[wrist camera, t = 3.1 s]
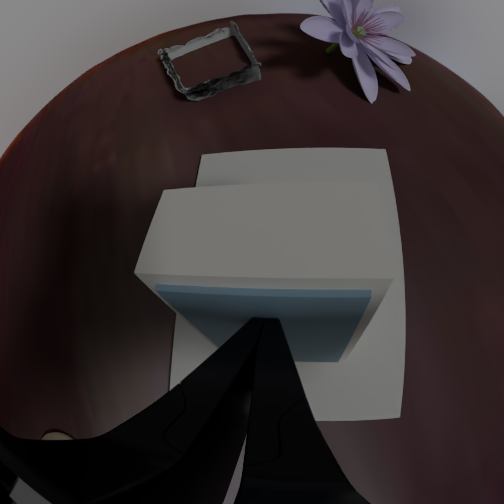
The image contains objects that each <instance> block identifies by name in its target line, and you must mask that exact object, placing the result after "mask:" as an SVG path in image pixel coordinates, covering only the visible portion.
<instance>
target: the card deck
mask: <svg viewBox="0 0 504 504" xmlns="http://www.w3.org/2000/svg"><path fill="white" fill-rule="evenodd" d="M134 274H135V275H136V276H137V277H138V278H139V279H140V280H141V281H142V282H143V283H144V284H146V285H147V286H148V287H149V288H150V289H151V290H152V291H153V292H154V293H155V294H156V295H157V296H158V297H159V298H160V299H161V300H162V301H163V302H165V303H166V304H167V305H168V306H169V307H170V308H171V309H172V310H173V311H174V312H175V313H177V314H178V315H179V316H180V317H181V318H182V319H183V320H184V321H186V322H187V323H188V324H189V325H190V326H191V327H192V328H194V329H195V330H196V331H197V332H198V333H199V334H200V335H202V336H203V337H204V338H205V339H206V340H208V341H209V342H210V343H211V344H212V345H214V346H215V347H216V348H217V349H218V348H219V347H220V346H221V345H223V344H224V343H225V342H226V341H227V340H228V339H229V338H230V337H231V336H232V335H234V334H235V333H236V332H237V331H238V330H239V329H240V328H241V327H242V326H243V325H244V324H245V323H247V322H248V321H249V320H250V319H251V318H254V317H255V318H265V320H266V319H267V318H278V319H279V320H280V322H281V325H282V327H283V330H284V333H285V336H286V339H287V342H288V345H289V348H290V351H291V353H292V356H293V359H294V362H345V360H346V359H347V358H348V356H349V354H350V353H351V351H352V350H353V348H354V347H355V345H356V344H357V342H358V341H359V339H360V337H361V336H362V334H363V333H364V331H365V329H366V328H367V326H368V324H369V323H370V321H371V319H372V318H373V316H374V314H375V312H376V311H377V309H378V307H379V305H380V304H381V302H382V300H383V298H384V297H385V295H386V293H387V291H388V289H389V287H390V285H391V284H392V282H393V280H394V272H393V264H392V257H391V251H390V244H389V238H388V232H387V227H386V221H385V216H384V211H383V206H382V202H381V197H380V192H379V188H378V184H377V183H361V182H293V183H260V184H239V185H222V186H207V187H194V188H182V189H171V190H164V191H163V194H162V196H161V199H160V201H159V204H158V206H157V209H156V212H155V214H154V217H153V219H152V222H151V225H150V227H149V230H148V233H147V236H146V239H145V241H144V244H143V247H142V250H141V253H140V256H139V259H138V262H137V265H136V268H135V271H134Z"/></svg>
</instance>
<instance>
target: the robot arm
mask: <svg viewBox="0 0 504 504" xmlns="http://www.w3.org/2000/svg"><path fill="white" fill-rule="evenodd" d="M246 434H247V437H246ZM245 437H246V446H245V454H244V462H243V471H242V477H241V482H240V487H239V490H238V493H237V496H236V498H235V501H234V504H370V503H369V502H368V501H367V500H366V499H365V498H363V497H362V496H361V495H360V494H359V493H358V492H357V491H356V490H355V489H354V488H353V486H352V485H351V484H350V482H349V481H348V479H347V478H346V476H345V475H344V473H343V471H342V470H341V468H340V466H339V464H338V462H337V461H336V459H335V457H334V455H333V454H332V452H331V450H330V448H329V446H328V445H327V443H326V441H325V439H324V437H323V435H322V433H321V431H320V429H319V427H318V425H317V423H316V421H315V418H314V416H313V413H312V411H311V408H310V405H309V402H308V399H307V398H306V394H305V391H304V388H303V385H302V382H301V379H300V377H299V374H298V371H297V368H296V365H295V362H294V359H293V356H292V353H291V351H290V348H289V345H288V342H287V339H286V336H285V333H284V330H283V327H282V325H281V322H280V320H279V319H278V318H267V319H266V320H265V318H255V317H254V318H251V319H250V320H249V321H248V322H247V323H245V324H244V325H243V326H242V327H241V328H240V329H239V330H238V331H237V332H236V333H235V334H234V335H232V336H231V337H230V338H229V339H228V340H227V341H226V342H225V343H224V344H223V345H221V346H220V347H219V348H218V349H217V350H216V351H215V352H214V353H212V354H211V355H210V356H209V357H208V358H207V359H206V360H205V361H203V362H202V363H201V364H200V365H199V366H198V367H197V368H195V369H194V370H193V371H192V372H191V373H190V374H189V375H187V376H186V377H185V378H184V379H183V380H182V381H180V384H179V383H178V384H177V385H176V386H174V387H173V388H172V389H171V390H170V391H168V392H167V393H166V394H165V395H163V396H162V397H161V398H160V399H158V400H157V401H156V402H154V403H153V404H151V405H150V406H148V407H147V408H146V409H144V410H143V411H141V412H140V413H138V414H136V415H135V416H133V417H132V418H130V419H129V420H127V421H125V422H124V423H122V424H120V425H119V426H117V427H116V428H114V429H112V430H111V431H109V432H107V433H105V434H103V435H100V436H97V437H94V438H89V439H72V440H30V439H22V438H17V437H15V436H12V435H10V434H9V433H8V432H7V431H5V430H4V429H3V428H2V427H1V426H0V504H223V502H224V499H225V496H226V494H227V491H228V488H229V485H230V482H231V479H232V476H233V474H234V471H235V468H236V465H237V462H238V459H239V456H240V453H241V450H242V447H243V444H244V440H245Z"/></svg>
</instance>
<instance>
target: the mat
mask: <svg viewBox="0 0 504 504" xmlns="http://www.w3.org/2000/svg"><path fill="white" fill-rule="evenodd" d="M293 182H361V183H377V184H378V188H379V192H380V197H381V202H382V206H383V211H384V216H385V221H386V227H387V232H388V238H389V244H390V251H391V257H392V264H393V272H394V280H393V282H392V284H391V285H390V287H389V289H388V291H387V293H386V295H385V297H384V298H383V300H382V302H381V304H380V305H379V307H378V309H377V311H376V312H375V314H374V316H373V318H372V319H371V321H370V323H369V324H368V326H367V328H366V329H365V331H364V333H363V334H362V336H361V337H360V339H359V341H358V342H357V344H356V345H355V347H354V348H353V350H352V351H351V353H350V354H349V356H348V358H347V359H346V360H345V362H295V365H296V368H297V371H298V374H299V377H300V379H301V382H302V385H303V388H304V391H305V394H306V398H307V399H308V402H309V405H310V408H311V411H312V413H313V416H314V418H315V421H352V420H374V419H387V418H398V417H400V411H401V402H402V392H403V380H404V364H405V287H404V271H403V258H402V247H401V238H400V229H399V221H398V214H397V207H396V201H395V195H394V189H393V183H392V178H391V173H390V168H389V163H388V158H387V154H386V149H364V148H292V149H268V150H252V151H238V152H226V153H216V154H206V155H202V157H201V162H200V167H199V172H198V177H197V182H196V187H207V186H222V185H239V184H260V183H293ZM216 350H217V348H216V347H215V346H214V345H212V344H211V343H210V342H209V341H208V340H206V339H205V338H204V337H203V336H202V335H200V334H199V333H198V332H197V331H196V330H195V329H194V328H192V327H191V326H190V325H189V324H188V323H187V322H186V321H184V320H183V319H182V318H181V317H180V316H179V315H178V314H177V313H176V322H175V332H174V342H173V353H172V365H171V378H170V390H171V389H172V388H173V387H174V386H176V385H177V384H178V383H179V384H180V381H182V380H183V379H184V378H185V377H186V376H187V375H189V374H190V373H191V372H192V371H193V370H194V369H195V368H197V367H198V366H199V365H200V364H201V363H202V362H203V361H205V360H206V359H207V358H208V357H209V356H210V355H211V354H212V353H214V352H215V351H216Z"/></svg>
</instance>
